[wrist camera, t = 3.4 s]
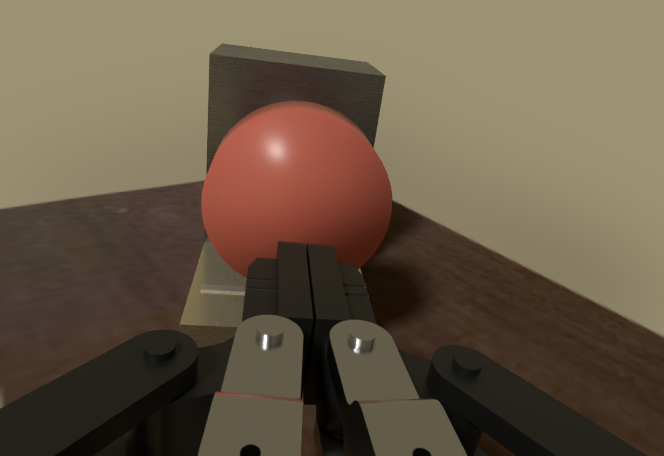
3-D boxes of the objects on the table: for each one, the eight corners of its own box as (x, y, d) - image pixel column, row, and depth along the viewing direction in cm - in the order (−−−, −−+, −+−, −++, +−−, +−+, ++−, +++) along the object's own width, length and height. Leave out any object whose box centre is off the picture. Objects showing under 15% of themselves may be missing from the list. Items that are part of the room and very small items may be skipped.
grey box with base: (215, 223, 35) (222, 43, 30) (340, 232, 36) (367, 62, 31) (179, 351, 22) (180, 77, 17) (374, 359, 23) (427, 106, 18)
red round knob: (225, 192, 28) (230, 65, 25) (345, 202, 29) (363, 81, 26) (199, 285, 19) (203, 103, 16) (375, 295, 20) (408, 126, 17)
